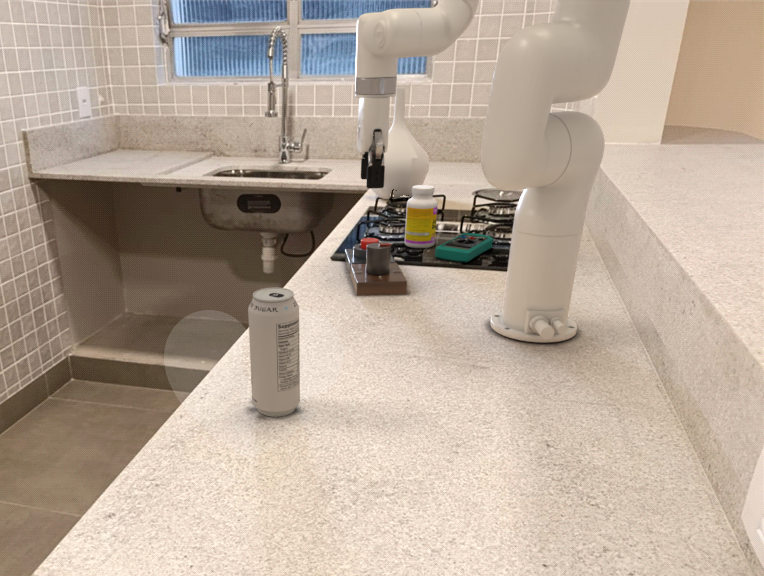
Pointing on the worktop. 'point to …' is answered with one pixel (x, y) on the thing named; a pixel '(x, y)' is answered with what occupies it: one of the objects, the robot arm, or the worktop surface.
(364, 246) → the button
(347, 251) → the button block
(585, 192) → the robot arm
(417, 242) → the supplement bottle
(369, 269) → the dial
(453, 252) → the digital multimeter
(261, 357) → the energy drink can
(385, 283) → the dial panel
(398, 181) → the vase
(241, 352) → the worktop surface
